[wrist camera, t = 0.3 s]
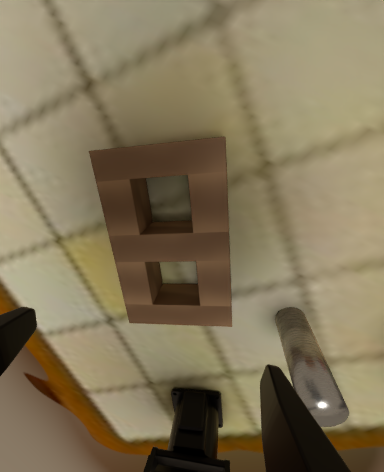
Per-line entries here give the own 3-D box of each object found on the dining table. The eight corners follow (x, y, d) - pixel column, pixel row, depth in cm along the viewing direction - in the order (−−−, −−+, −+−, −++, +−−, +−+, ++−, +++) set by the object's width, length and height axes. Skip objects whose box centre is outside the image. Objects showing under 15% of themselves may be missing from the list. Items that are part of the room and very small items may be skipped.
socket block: (231, 302, 24) (231, 326, 21) (142, 300, 25) (129, 322, 22) (225, 138, 18) (225, 136, 15) (111, 150, 20) (88, 151, 17)
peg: (304, 331, 24) (345, 429, 15) (274, 329, 24) (298, 424, 16) (306, 307, 23) (352, 399, 14) (275, 307, 23) (302, 395, 15)
